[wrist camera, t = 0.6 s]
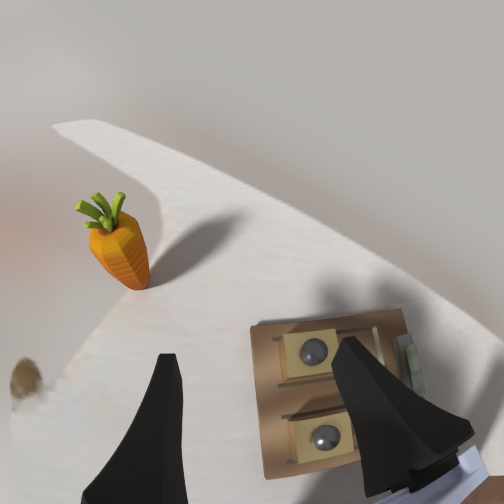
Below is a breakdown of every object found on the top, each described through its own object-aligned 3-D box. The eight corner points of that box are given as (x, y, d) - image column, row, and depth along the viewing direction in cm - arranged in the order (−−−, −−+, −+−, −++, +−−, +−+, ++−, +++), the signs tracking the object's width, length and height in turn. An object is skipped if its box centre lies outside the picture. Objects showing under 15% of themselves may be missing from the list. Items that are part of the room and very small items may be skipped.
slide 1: (331, 374, 24) (345, 368, 21) (282, 381, 24) (290, 376, 21) (325, 337, 27) (337, 326, 24) (278, 342, 26) (284, 332, 23)
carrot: (167, 271, 31) (134, 174, 19) (157, 310, 29) (107, 225, 16) (130, 266, 31) (84, 173, 19) (118, 302, 29) (55, 219, 16)
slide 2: (341, 447, 20) (356, 451, 17) (291, 458, 20) (300, 464, 17) (337, 411, 22) (351, 410, 19) (287, 420, 22) (295, 421, 19)
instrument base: (418, 434, 21) (438, 433, 18) (264, 476, 20) (269, 486, 16) (394, 313, 30) (411, 300, 27) (250, 330, 28) (252, 318, 25)
